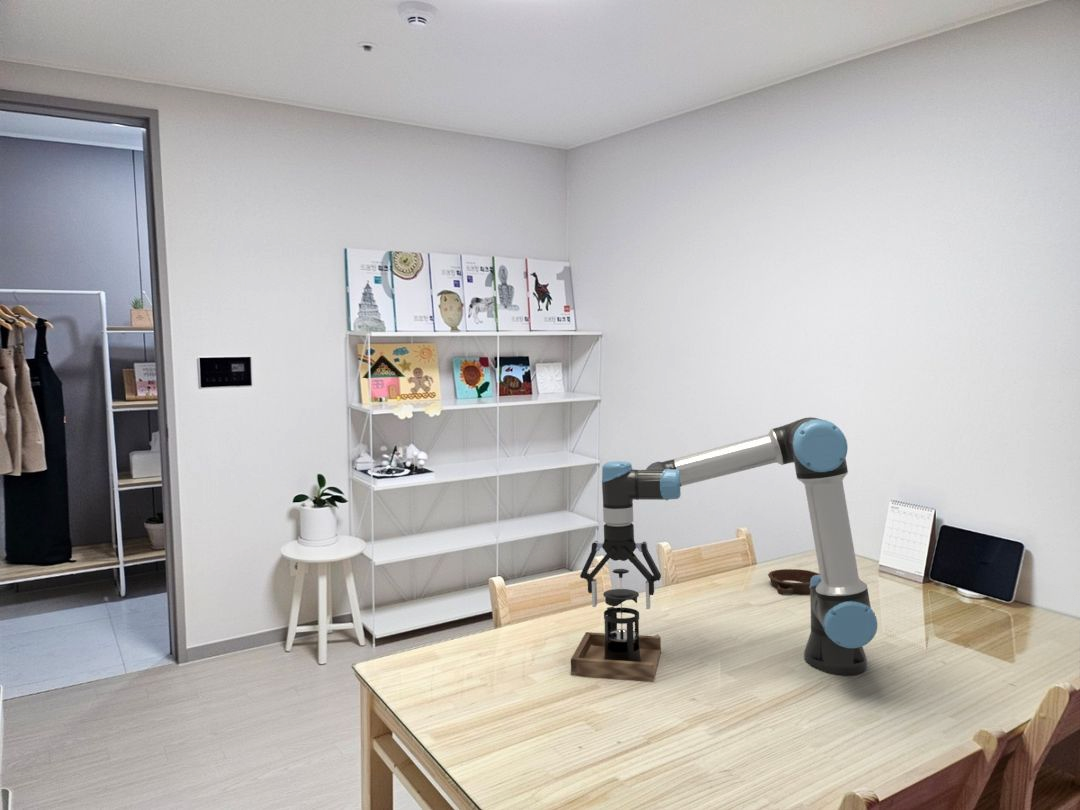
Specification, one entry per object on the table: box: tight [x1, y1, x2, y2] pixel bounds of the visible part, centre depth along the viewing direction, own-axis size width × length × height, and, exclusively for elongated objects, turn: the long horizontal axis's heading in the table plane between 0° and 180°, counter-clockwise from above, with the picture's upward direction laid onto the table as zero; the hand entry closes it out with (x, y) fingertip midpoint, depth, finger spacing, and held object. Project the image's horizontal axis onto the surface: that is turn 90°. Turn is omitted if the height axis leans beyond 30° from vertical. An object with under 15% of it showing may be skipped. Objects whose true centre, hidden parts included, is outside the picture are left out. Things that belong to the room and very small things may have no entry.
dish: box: [767, 568, 820, 595], centre depth 251 cm, size 18×22×5 cm
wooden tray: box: [570, 631, 662, 683], centre depth 191 cm, size 20×20×4 cm
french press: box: [602, 568, 641, 662], centre depth 191 cm, size 12×9×23 cm
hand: (621, 606), depth 190 cm, fingers open, 13 cm apart
